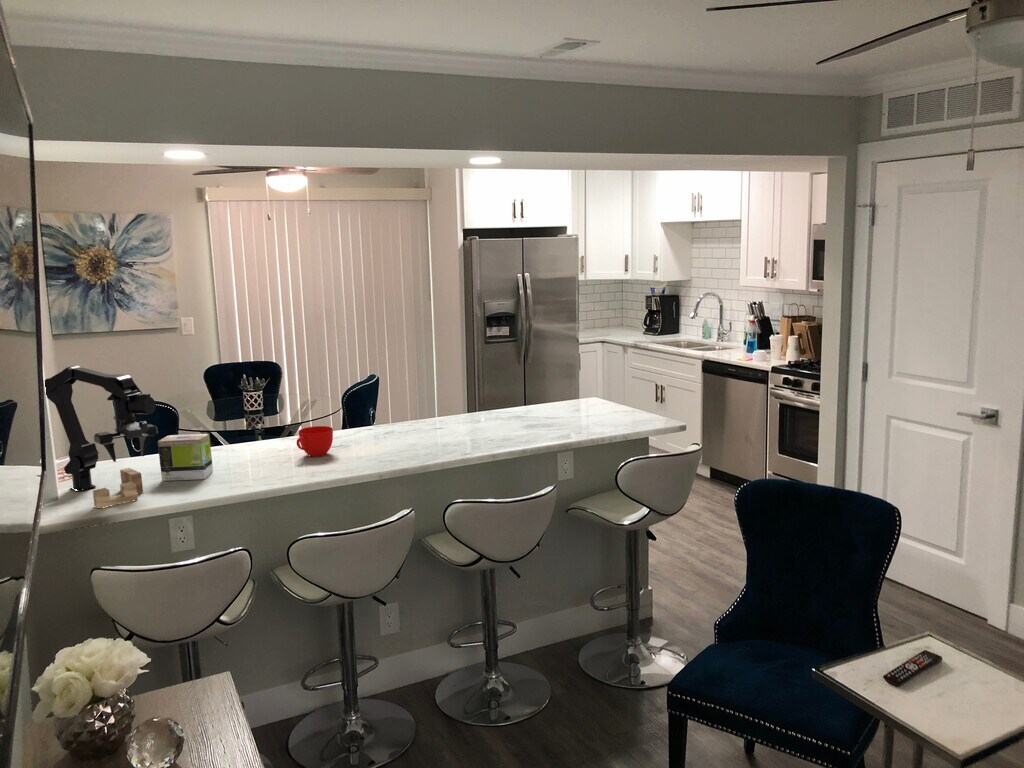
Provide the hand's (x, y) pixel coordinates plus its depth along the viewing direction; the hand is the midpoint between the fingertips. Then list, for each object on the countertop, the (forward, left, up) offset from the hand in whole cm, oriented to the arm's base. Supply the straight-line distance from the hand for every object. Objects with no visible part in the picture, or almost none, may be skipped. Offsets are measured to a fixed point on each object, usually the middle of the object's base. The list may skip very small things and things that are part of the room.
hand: (129, 458), depth 270 cm
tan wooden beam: (0, 0, -11) cm, 11 cm away
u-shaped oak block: (+10, -9, -11) cm, 18 cm away
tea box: (-2, +20, -12) cm, 23 cm away
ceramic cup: (+9, +65, -11) cm, 67 cm away
